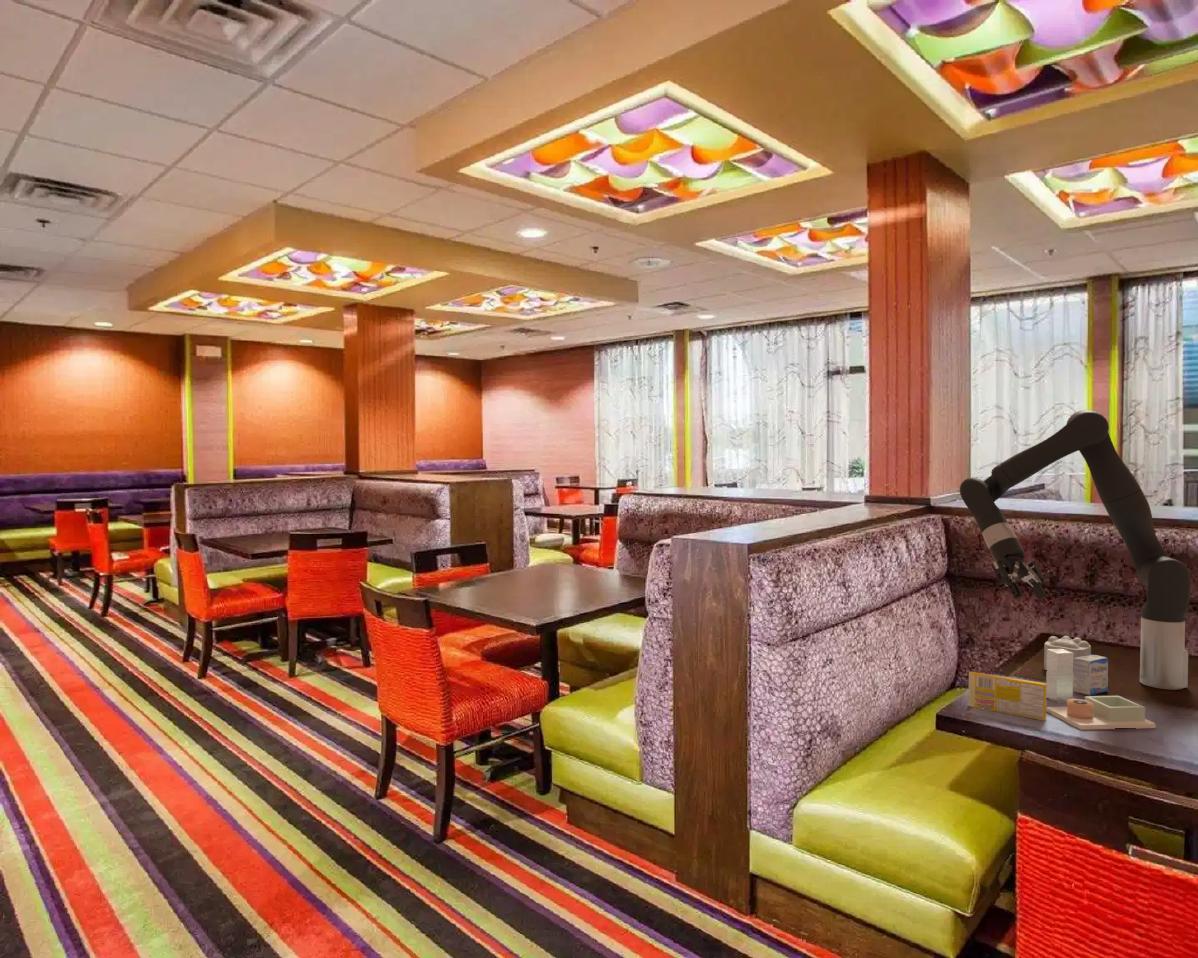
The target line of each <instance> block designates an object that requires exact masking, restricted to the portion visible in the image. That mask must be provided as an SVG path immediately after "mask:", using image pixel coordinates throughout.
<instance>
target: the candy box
mask: <svg viewBox="0 0 1198 958" xmlns="http://www.w3.org/2000/svg"><path fill="white" fill-rule="evenodd" d="M1046 689H1047V684H1046V682H1045V683H1044V682H1040V681H1039V682H1038V681H1033V680H1026V679H1020V678H1013V677H1008V676H1007V677H1006V676H1000V675H994V674H988V673H982V672H975V671H969V672H968V702H967V706H968V707H969V706H971V707H970V708H975V707H976V708H975V709H980V708H984V709H983V710H985V709H987V710H986V711H990V710H991V712H997V713H1001V714H1006V713H1007V715H1011V714H1012V716H1016V717H1022V718H1027V719H1032V718H1033V720H1038V721H1043V722H1045V721H1046V720H1047V712H1046V707H1047V698H1046Z"/></svg>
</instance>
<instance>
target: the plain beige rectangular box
mask: <svg viewBox="0 0 1198 958" xmlns="http://www.w3.org/2000/svg"><path fill="white" fill-rule="evenodd" d="M1045 671H1046V670H1045ZM1045 673H1046V678H1045V679H1046V680H1045V683H1046V684H1047V689H1046V699H1048V700H1050V699H1051V701H1052V702H1054V703H1055V704H1056V703H1057V704H1060V703H1064V704H1065V703H1066V704H1067V700H1068V699H1074V698H1073V693H1074V691H1073V653H1072V652H1069V651H1067V650H1064V649H1047V671H1046V672H1045Z"/></svg>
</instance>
